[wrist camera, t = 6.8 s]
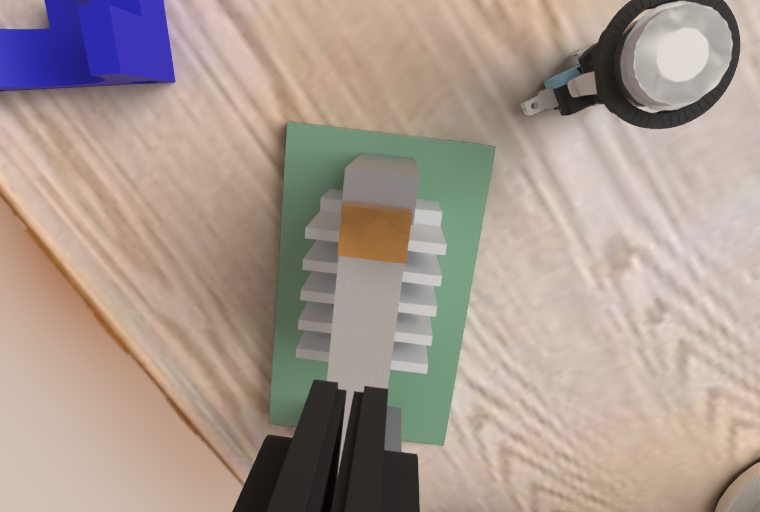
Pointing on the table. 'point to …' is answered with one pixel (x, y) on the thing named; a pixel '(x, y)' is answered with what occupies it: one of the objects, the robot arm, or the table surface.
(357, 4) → the table surface
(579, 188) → the table surface
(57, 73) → the blue cradle bracket
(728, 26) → the push button
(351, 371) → the hinged grey bar
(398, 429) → the board
